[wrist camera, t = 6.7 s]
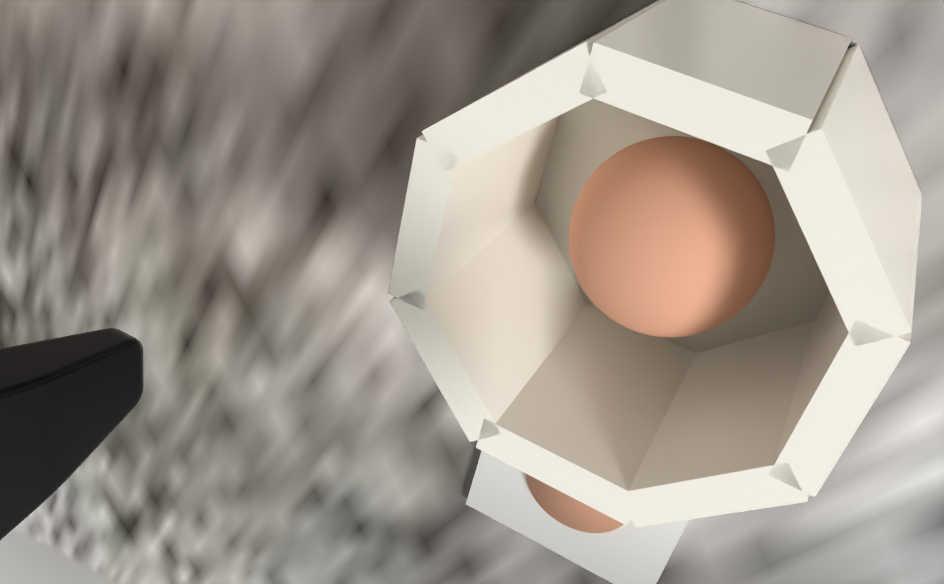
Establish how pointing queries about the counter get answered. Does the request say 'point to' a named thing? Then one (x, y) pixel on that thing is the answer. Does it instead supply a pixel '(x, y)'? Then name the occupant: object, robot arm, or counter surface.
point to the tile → (572, 525)
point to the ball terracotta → (671, 236)
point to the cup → (649, 357)
